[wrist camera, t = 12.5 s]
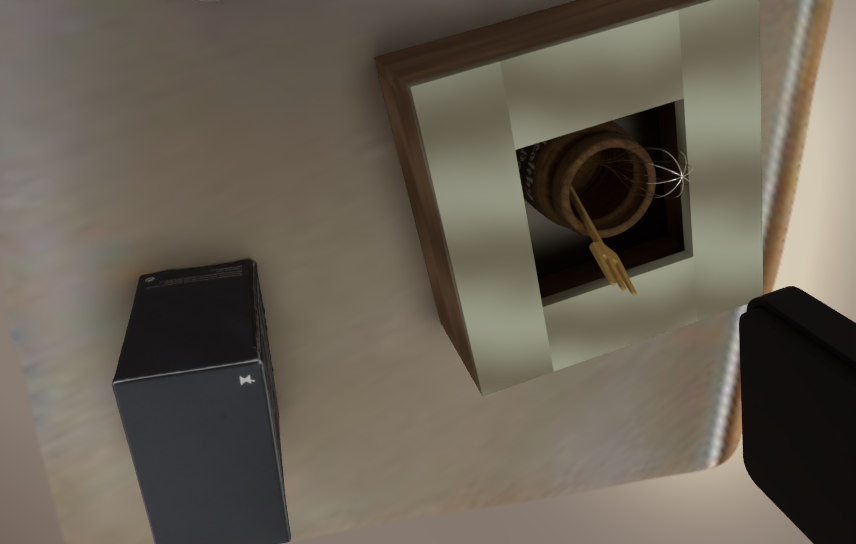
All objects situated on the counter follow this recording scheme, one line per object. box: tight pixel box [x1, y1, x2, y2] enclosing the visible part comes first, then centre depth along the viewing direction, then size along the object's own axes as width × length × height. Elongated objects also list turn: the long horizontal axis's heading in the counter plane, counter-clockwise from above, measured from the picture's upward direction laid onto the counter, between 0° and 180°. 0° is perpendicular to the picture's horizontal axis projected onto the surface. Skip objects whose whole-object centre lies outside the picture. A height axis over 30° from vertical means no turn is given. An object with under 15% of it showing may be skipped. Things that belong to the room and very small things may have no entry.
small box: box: [112, 260, 291, 544], centre depth 37 cm, size 11×6×10 cm, turn 2°
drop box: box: [374, 0, 763, 396], centre depth 38 cm, size 16×16×8 cm
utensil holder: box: [515, 121, 693, 296], centre depth 37 cm, size 6×6×12 cm
